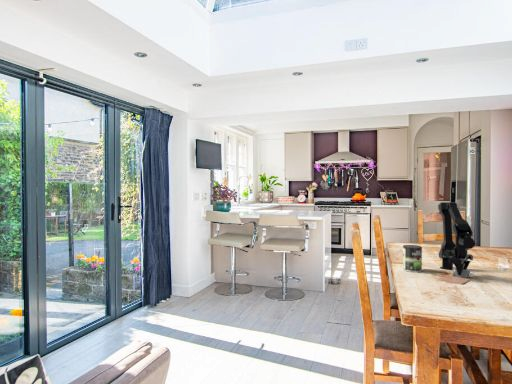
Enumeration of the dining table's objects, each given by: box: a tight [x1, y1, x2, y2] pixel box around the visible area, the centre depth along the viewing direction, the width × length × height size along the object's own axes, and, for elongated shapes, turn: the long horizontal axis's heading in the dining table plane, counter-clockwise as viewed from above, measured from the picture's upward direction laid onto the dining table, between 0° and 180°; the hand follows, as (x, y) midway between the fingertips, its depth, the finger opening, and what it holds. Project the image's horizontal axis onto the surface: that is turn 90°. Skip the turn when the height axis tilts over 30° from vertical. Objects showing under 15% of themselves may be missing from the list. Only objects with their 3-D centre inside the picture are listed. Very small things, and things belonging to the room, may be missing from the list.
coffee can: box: [402, 244, 423, 273], centre depth 214 cm, size 10×10×14 cm
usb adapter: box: [452, 267, 475, 279], centre depth 198 cm, size 10×4×4 cm, turn 42°
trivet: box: [436, 274, 471, 285], centre depth 191 cm, size 12×12×1 cm
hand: (461, 274), depth 198 cm, fingers open, 5 cm apart
